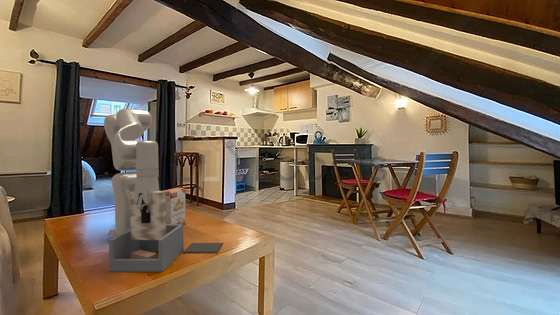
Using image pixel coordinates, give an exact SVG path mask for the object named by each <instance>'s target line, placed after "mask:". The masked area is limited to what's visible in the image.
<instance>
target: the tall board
mask: <svg viewBox="0 0 560 315" xmlns="http://www.w3.org/2000/svg"><path fill="white" fill-rule="evenodd" d="M134 192H135V191H133V192H130V212H131V240H159V239H161V238H162V237H163V236H165V235H166V191H165V190H159V191H155V192H152V202H151V204H149V212H150V219H151V222H150V223H141V212H140V209H138V208H137V205H135V203H134ZM143 204H145V203H143ZM144 207H146V206H144Z"/></svg>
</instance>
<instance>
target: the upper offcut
mask: <svg viewBox="0 0 560 315" xmlns="http://www.w3.org/2000/svg"><path fill="white" fill-rule="evenodd" d="M157 256H158V252H148V251H144V250H138V251H135V252H133V253H131V259H157Z"/></svg>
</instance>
